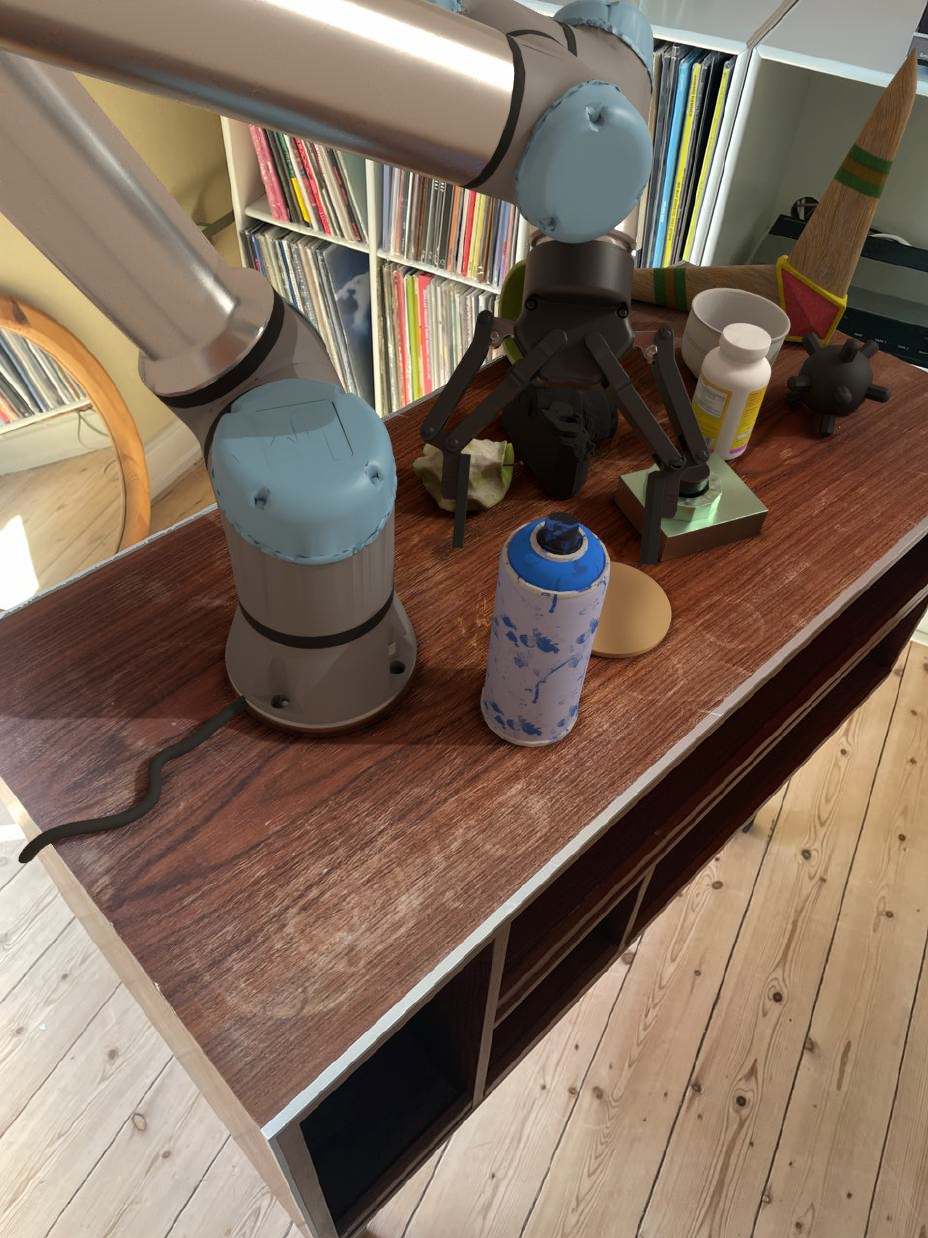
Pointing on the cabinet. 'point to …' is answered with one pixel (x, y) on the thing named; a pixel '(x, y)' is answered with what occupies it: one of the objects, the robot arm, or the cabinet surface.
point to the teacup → (729, 322)
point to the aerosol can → (543, 629)
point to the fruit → (471, 473)
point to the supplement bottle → (732, 388)
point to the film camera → (559, 432)
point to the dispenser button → (694, 481)
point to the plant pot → (512, 304)
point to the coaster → (631, 614)
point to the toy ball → (835, 380)
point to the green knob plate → (697, 511)
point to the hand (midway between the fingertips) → (552, 556)
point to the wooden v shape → (810, 233)
